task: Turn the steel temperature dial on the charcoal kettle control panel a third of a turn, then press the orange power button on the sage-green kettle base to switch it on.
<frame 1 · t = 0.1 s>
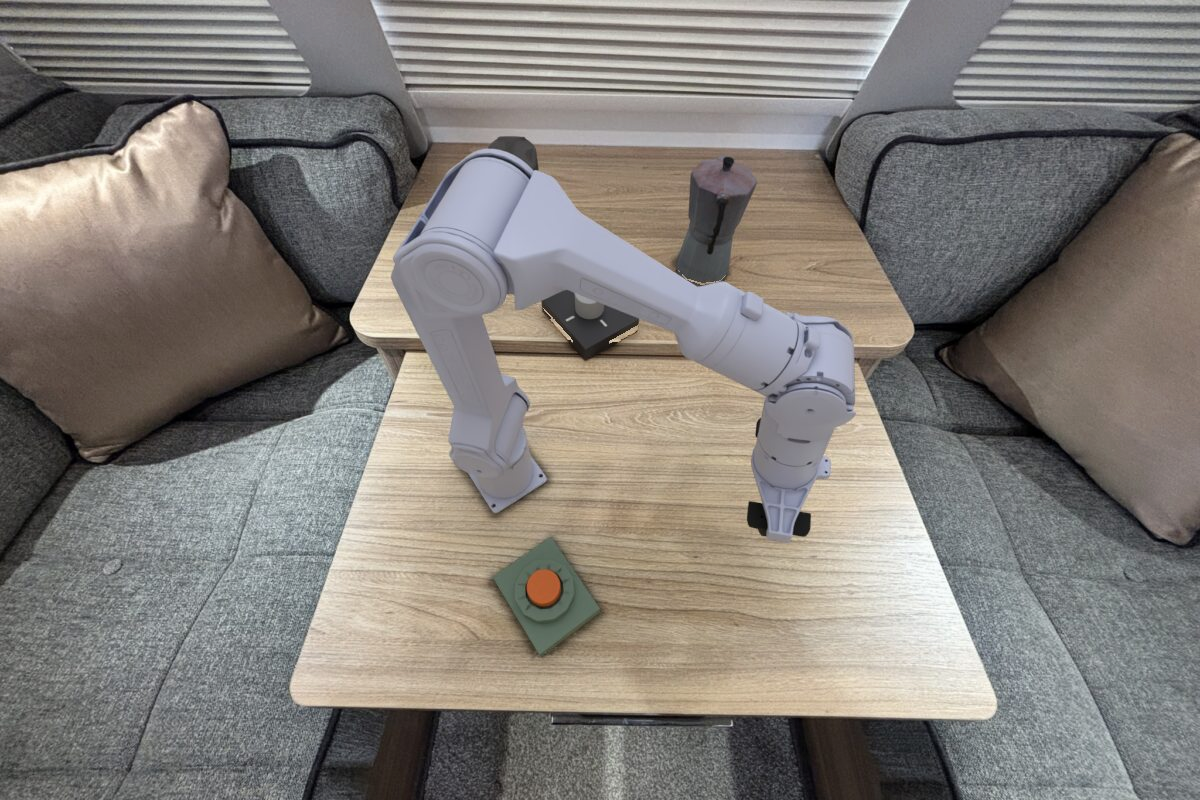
hand: (773, 500, 57), 11 cm above the table, tool pointing down, fingers open, 7 cm apart
beverage can: (467, 357, 80), on the table
coffee jar: (523, 249, 92), on the table
power button: (544, 587, 58), point 4 cm above the table, slide at 0.1 cm
dial panel: (589, 321, 84), on the table
temp dial: (589, 299, 79), point 5 cm above the table, hinge at 0.0°
kettle base: (546, 596, 62), on the table
moka pot: (702, 272, 90), on the table
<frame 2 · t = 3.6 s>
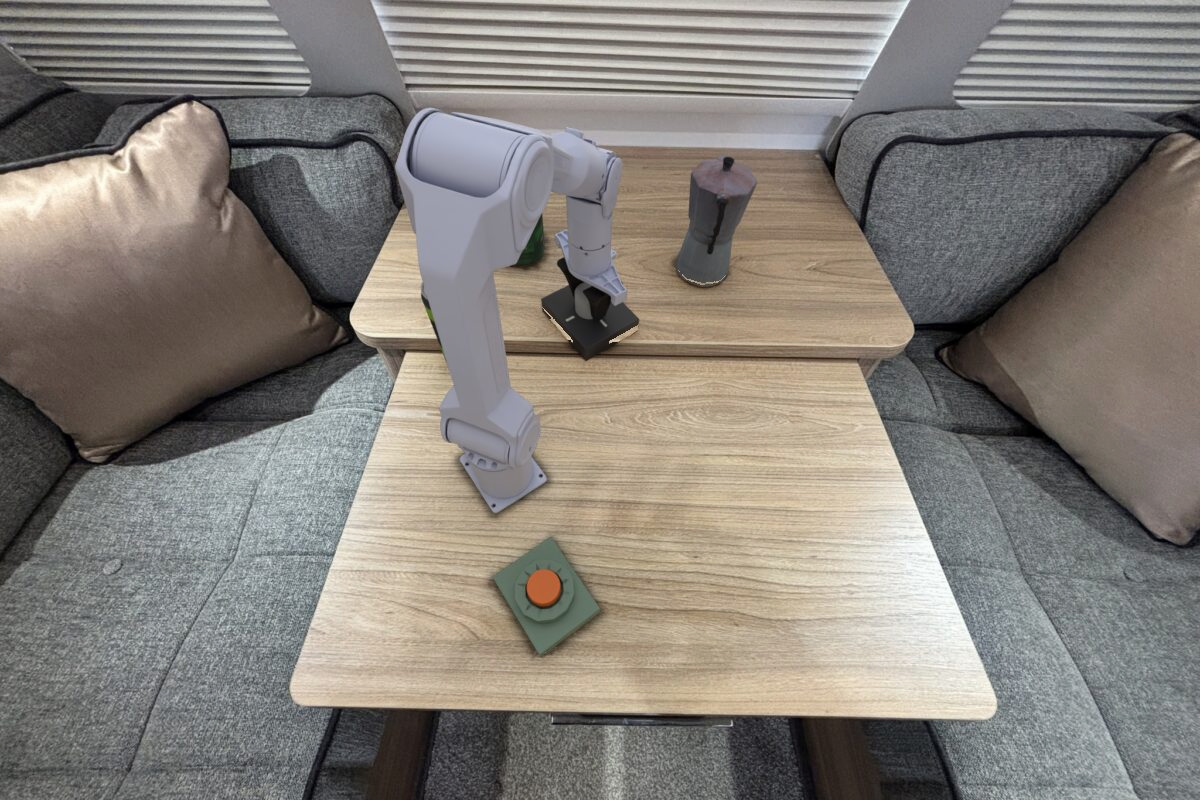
hand: (589, 306, 81), 4 cm above the table, tool pointing down, fingers closed on temp dial, 4 cm apart
temp dial: (589, 299, 79), point 5 cm above the table, hinge at -0.2°, touching gripper
everything else where it was.
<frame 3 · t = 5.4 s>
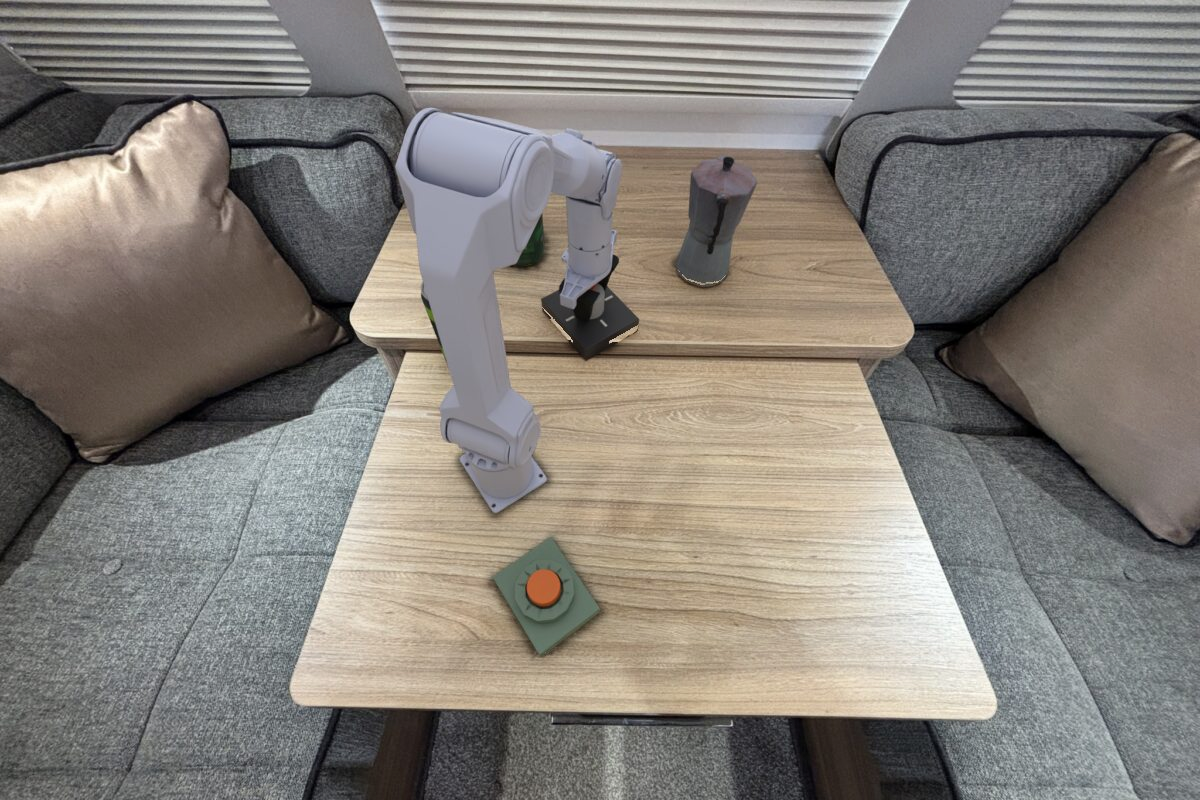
hand: (589, 306, 81), 3 cm above the table, tool pointing down, fingers closed on temp dial, 4 cm apart
temp dial: (589, 299, 79), point 5 cm above the table, hinge at 120.3°, touching gripper
everything else where it was.
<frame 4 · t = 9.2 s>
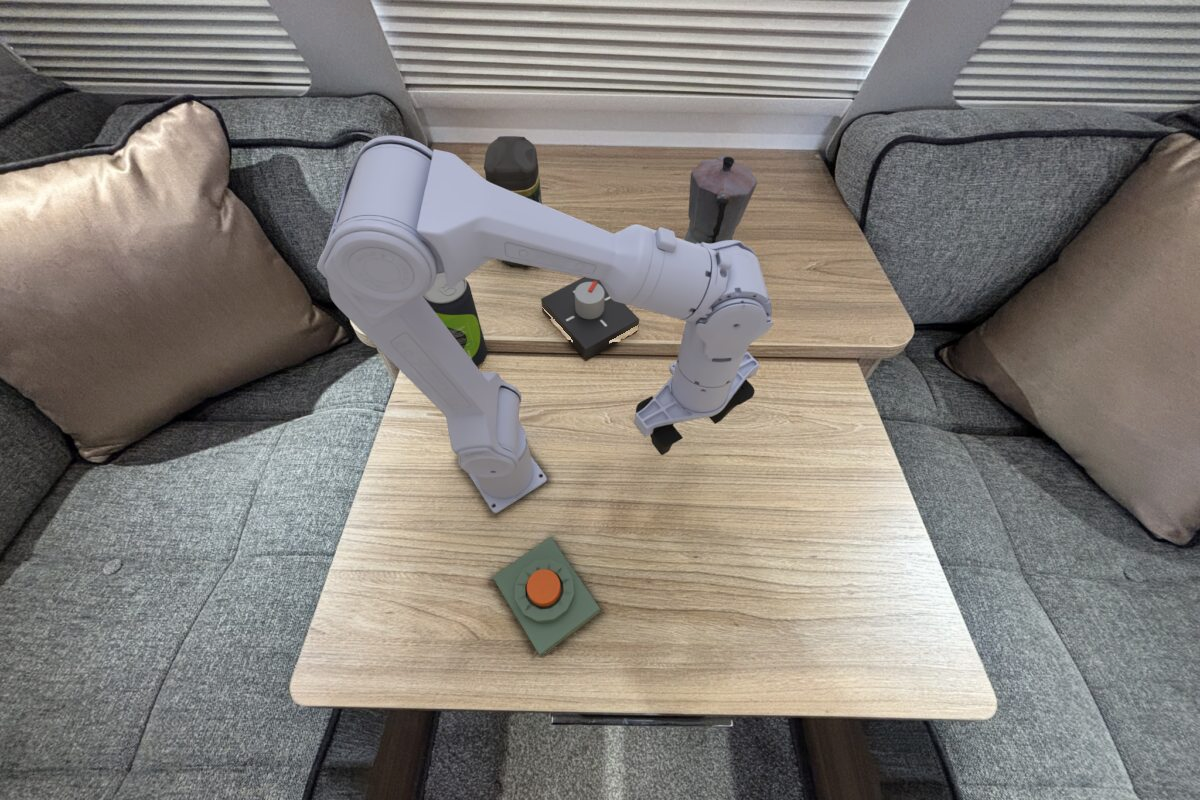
hand: (685, 431, 62), 10 cm above the table, tool pointing down, fingers open, 7 cm apart
temp dial: (589, 299, 79), point 5 cm above the table, hinge at 120.2°
everything else where it was.
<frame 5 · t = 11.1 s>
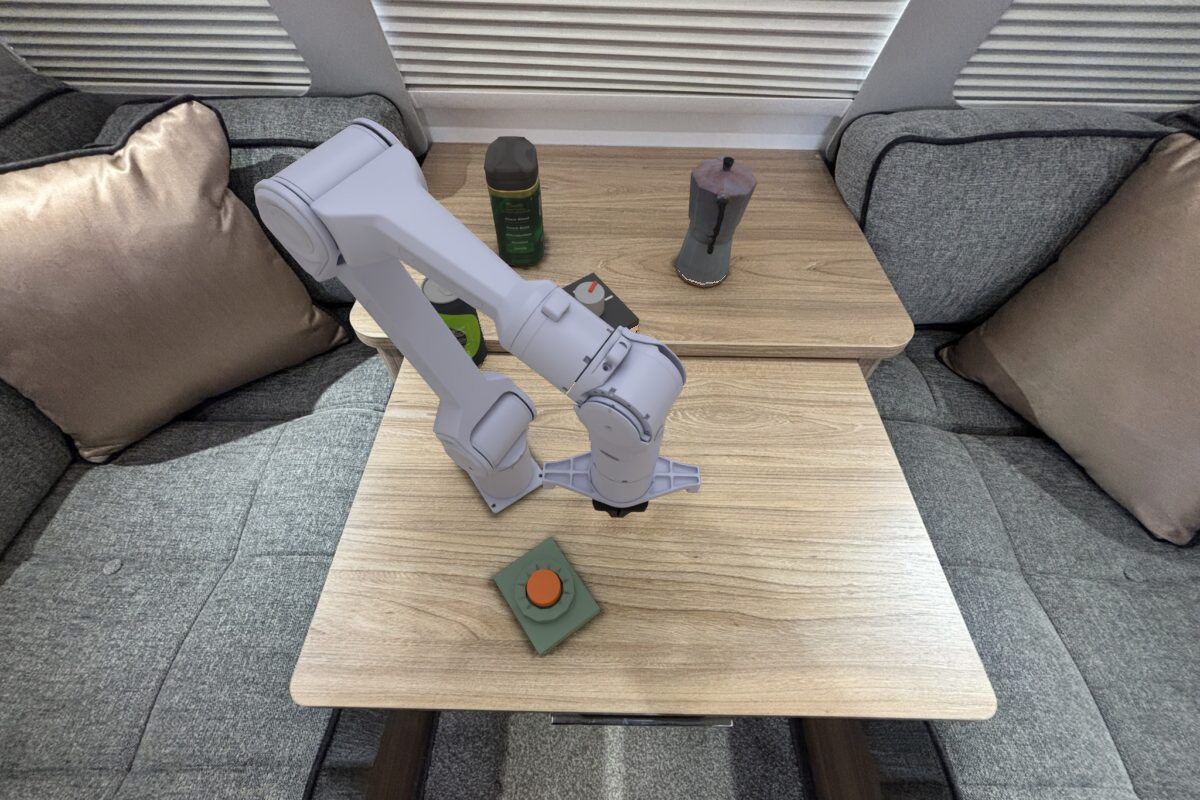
hand: (617, 508, 57), 10 cm above the table, tool pointing down, fingers closed
nothing on the table moved.
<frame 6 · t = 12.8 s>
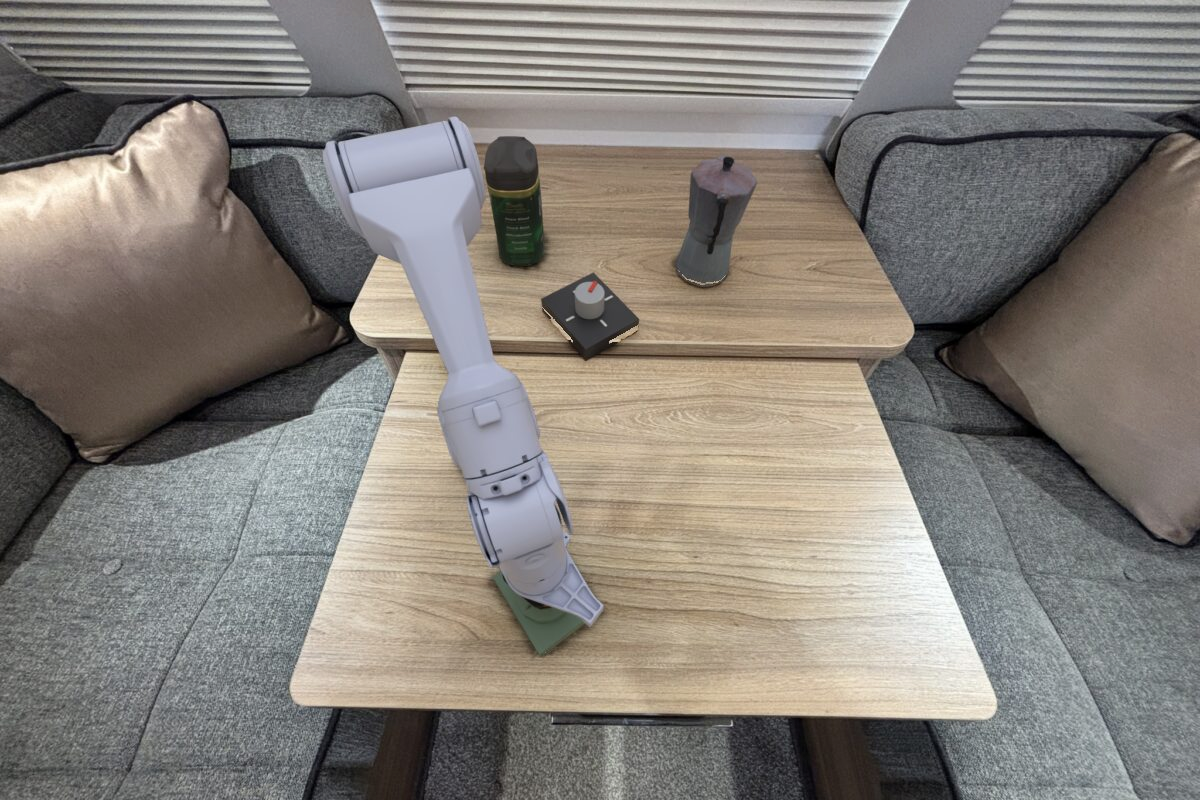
hand: (543, 586, 57), 5 cm above the table, tool pointing down, fingers closed, pressing on power button
power button: (544, 587, 58), point 4 cm above the table, slide at 0.1 cm, touching gripper
everything else where it was.
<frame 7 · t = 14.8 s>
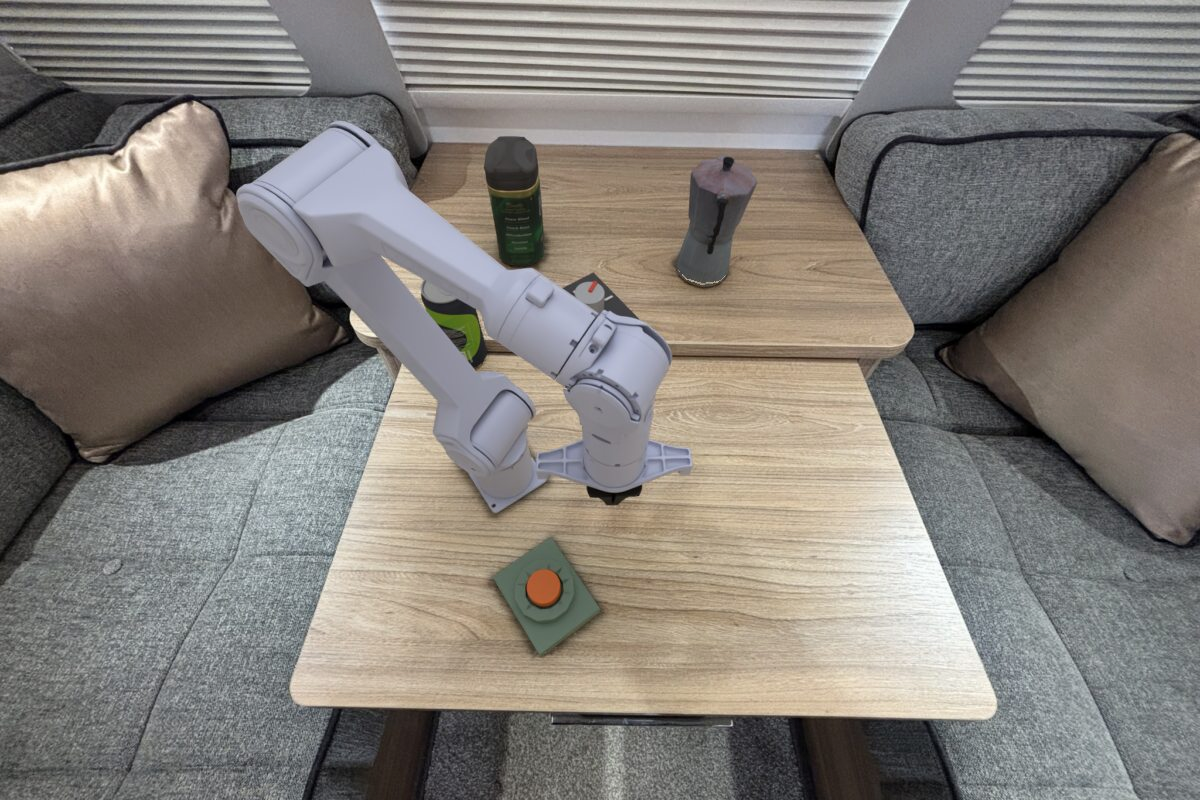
hand: (611, 496, 57), 10 cm above the table, tool pointing down, fingers closed
power button: (544, 587, 58), point 4 cm above the table, slide at 0.1 cm
everything else where it was.
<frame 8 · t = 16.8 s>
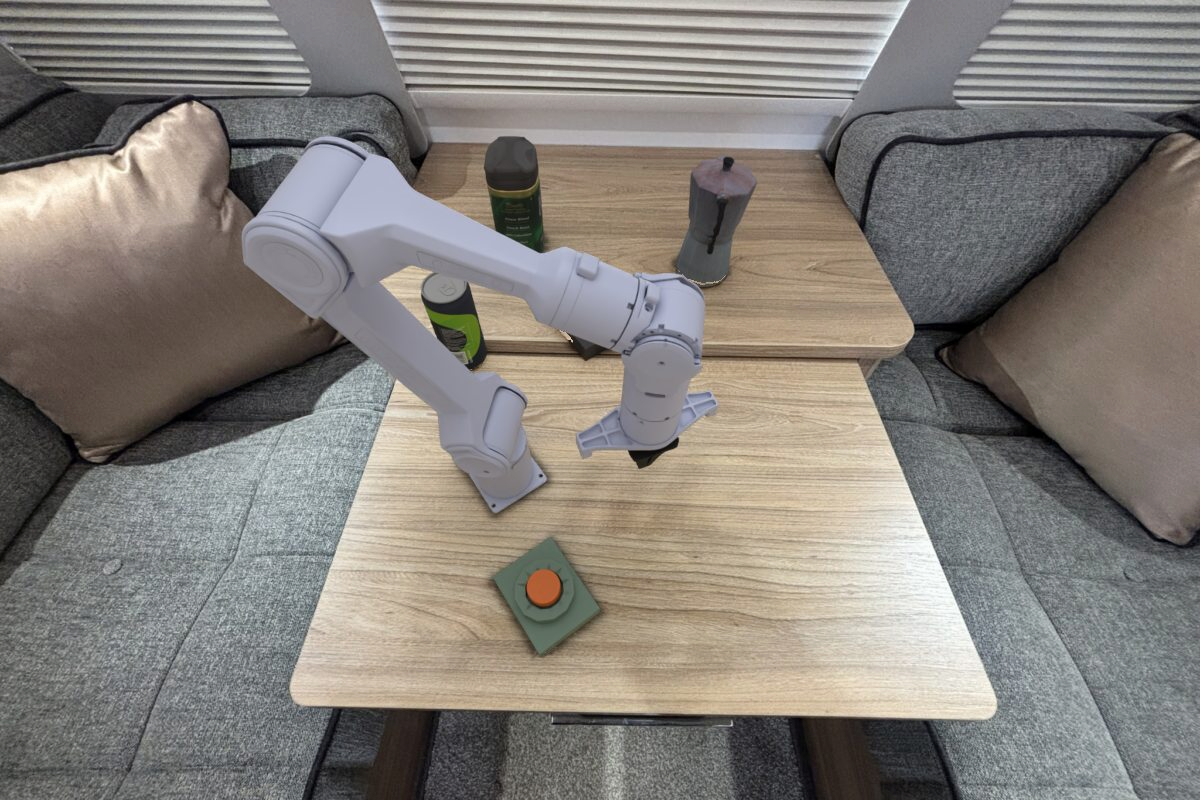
hand: (641, 459, 60), 10 cm above the table, tool pointing down, fingers closed
nothing on the table moved.
at the end: temp dial at +120° (first picture: +0°); power button pushed in 1.2 cm at the most during the clip, back to where it started at the end; power button slide at 0.1 cm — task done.
